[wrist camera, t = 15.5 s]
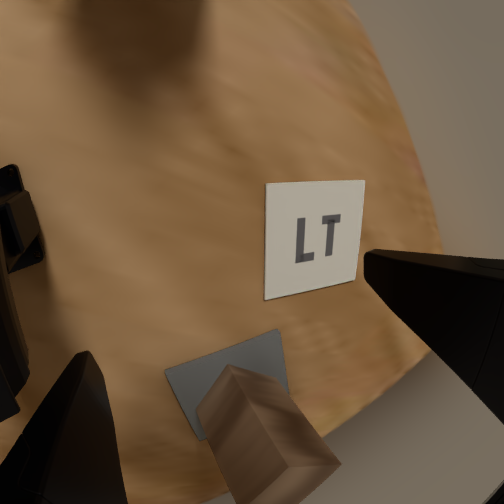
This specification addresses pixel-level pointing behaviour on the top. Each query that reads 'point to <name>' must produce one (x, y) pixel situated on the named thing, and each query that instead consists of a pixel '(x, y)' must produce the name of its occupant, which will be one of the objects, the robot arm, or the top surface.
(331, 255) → the card
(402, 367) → the top surface
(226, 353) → the rubber mat
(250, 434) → the walnut block
